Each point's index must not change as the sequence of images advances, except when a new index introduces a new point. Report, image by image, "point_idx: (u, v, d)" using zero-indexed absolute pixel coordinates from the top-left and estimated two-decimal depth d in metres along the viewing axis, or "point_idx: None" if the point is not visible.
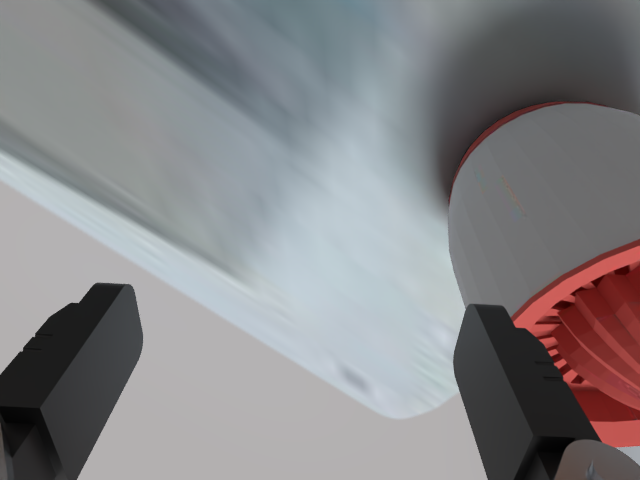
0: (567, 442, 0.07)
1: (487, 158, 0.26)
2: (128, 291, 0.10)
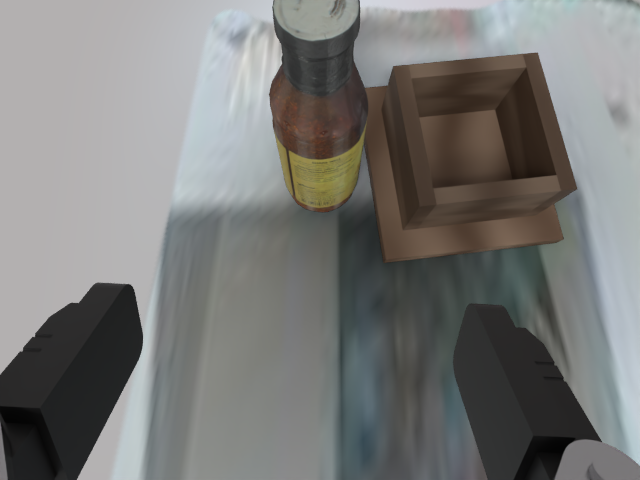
0: (567, 442, 0.07)
1: None
2: (128, 291, 0.10)
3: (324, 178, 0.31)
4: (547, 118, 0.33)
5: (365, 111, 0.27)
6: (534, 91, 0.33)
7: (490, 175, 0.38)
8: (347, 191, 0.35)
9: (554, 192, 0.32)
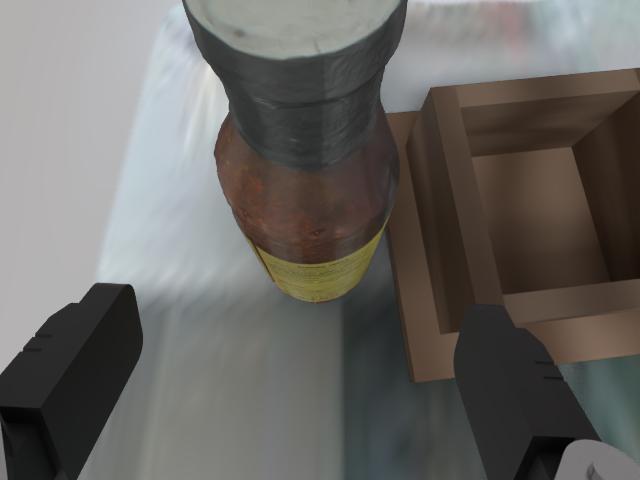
0: (567, 442, 0.07)
1: None
2: (128, 291, 0.10)
3: (321, 280, 0.18)
4: None
5: (395, 180, 0.15)
6: None
7: (569, 247, 0.26)
8: (357, 280, 0.23)
9: None
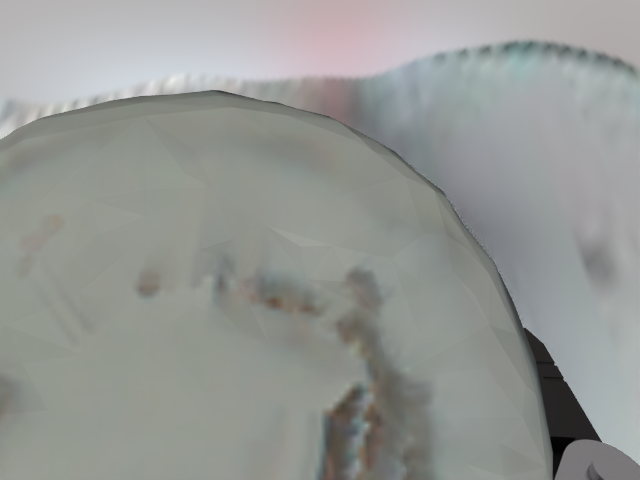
0: (567, 442, 0.07)
1: None
2: None
3: None
4: None
5: None
6: None
7: None
8: None
9: None
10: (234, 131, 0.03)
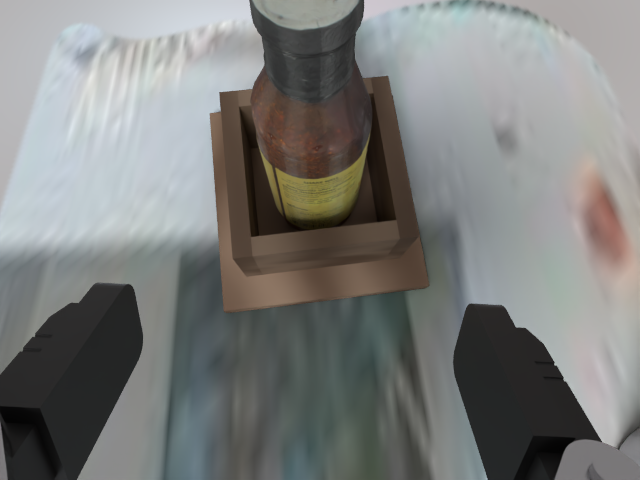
0: (567, 442, 0.07)
1: None
2: (128, 291, 0.10)
3: (319, 199, 0.26)
4: (392, 152, 0.28)
5: (368, 120, 0.22)
6: (380, 121, 0.29)
7: (351, 212, 0.34)
8: (346, 211, 0.30)
9: (393, 240, 0.27)
10: None
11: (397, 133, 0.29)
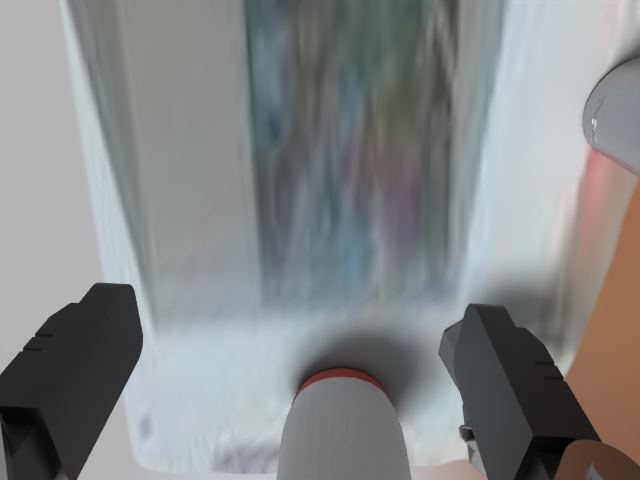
0: (567, 442, 0.07)
1: (341, 392, 0.51)
2: (128, 291, 0.10)
3: None
4: None
5: None
6: None
7: None
8: None
9: None
10: None
11: None
